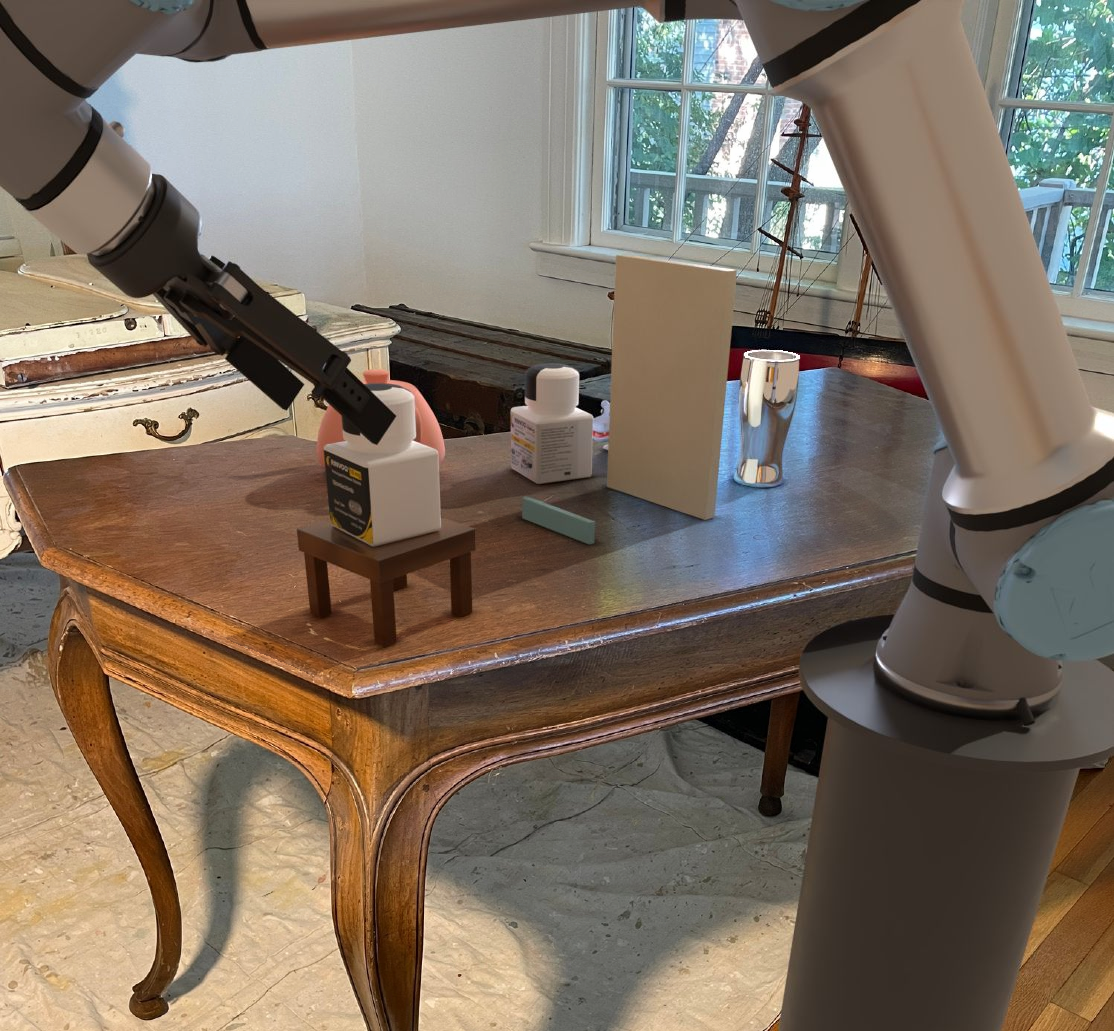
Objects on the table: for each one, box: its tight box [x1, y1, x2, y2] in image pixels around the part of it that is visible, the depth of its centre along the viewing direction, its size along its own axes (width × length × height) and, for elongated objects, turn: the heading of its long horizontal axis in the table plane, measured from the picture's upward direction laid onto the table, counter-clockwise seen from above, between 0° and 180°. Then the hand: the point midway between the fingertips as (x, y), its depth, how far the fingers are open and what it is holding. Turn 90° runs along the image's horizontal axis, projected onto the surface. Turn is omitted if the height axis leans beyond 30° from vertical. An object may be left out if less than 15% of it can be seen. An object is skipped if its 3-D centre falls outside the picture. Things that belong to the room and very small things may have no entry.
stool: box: [296, 517, 477, 648], centre depth 98 cm, size 11×11×8 cm
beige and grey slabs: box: [521, 253, 738, 545], centre depth 118 cm, size 16×17×26 cm
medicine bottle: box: [324, 383, 442, 547], centre depth 93 cm, size 7×7×12 cm
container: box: [510, 362, 594, 485], centre depth 135 cm, size 8×8×13 cm
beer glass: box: [733, 349, 801, 489], centre depth 134 cm, size 7×7×15 cm
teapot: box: [316, 368, 446, 469], centre depth 135 cm, size 22×16×12 cm
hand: (337, 412), depth 88 cm, fingers open, 13 cm apart
